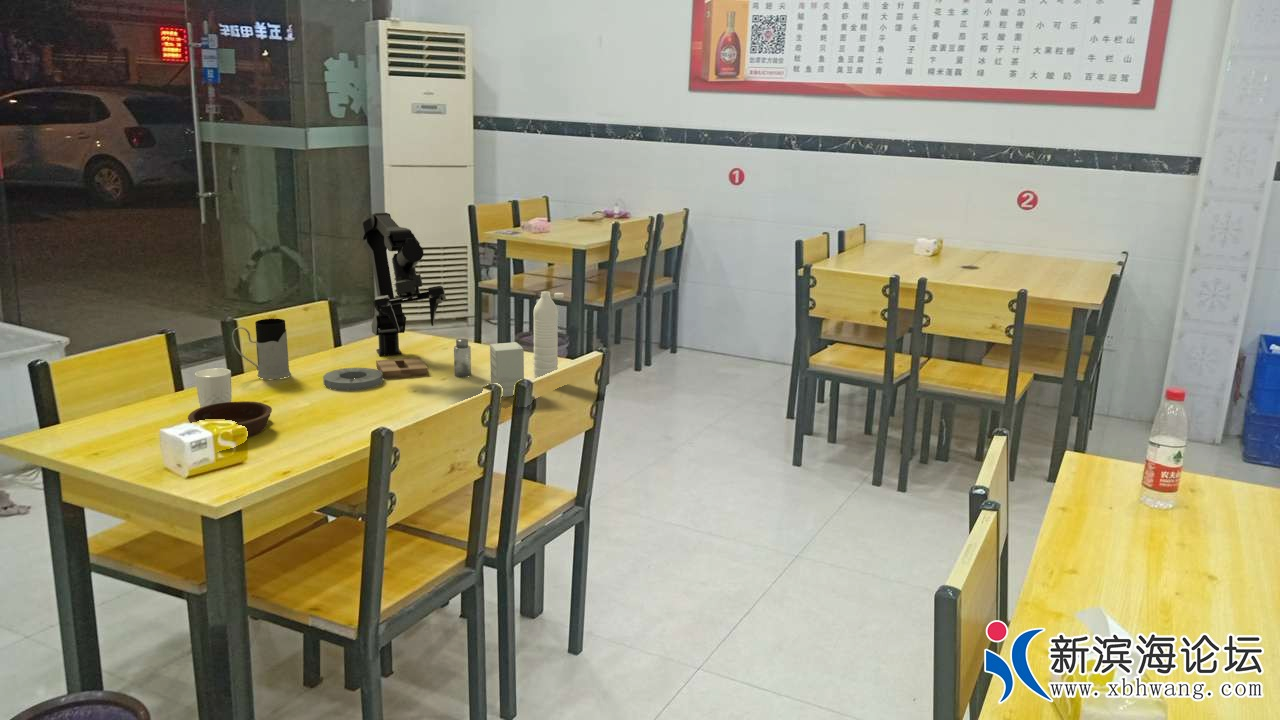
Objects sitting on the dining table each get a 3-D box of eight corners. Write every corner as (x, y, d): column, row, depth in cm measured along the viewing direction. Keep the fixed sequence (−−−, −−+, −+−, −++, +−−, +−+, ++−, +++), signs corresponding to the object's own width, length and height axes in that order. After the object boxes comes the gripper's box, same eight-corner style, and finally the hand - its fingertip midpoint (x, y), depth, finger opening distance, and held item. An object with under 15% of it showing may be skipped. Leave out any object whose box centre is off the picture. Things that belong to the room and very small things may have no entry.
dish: (164, 442, 224) (162, 421, 223) (234, 414, 244) (233, 394, 243) (228, 453, 218) (227, 431, 217) (295, 423, 238) (294, 403, 237)
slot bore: (376, 367, 286) (376, 360, 285) (419, 364, 290) (419, 357, 290) (383, 378, 275) (383, 371, 275) (427, 375, 280) (427, 368, 279)
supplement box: (517, 387, 270) (517, 341, 267) (524, 395, 263) (524, 348, 260) (490, 390, 267) (489, 343, 264) (496, 398, 261) (495, 350, 257)
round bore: (321, 377, 275) (320, 370, 274) (377, 372, 281) (377, 365, 280) (327, 392, 262) (326, 385, 261) (386, 387, 267) (386, 380, 267)
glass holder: (289, 379, 273) (286, 324, 269) (233, 381, 269) (228, 326, 265) (292, 370, 281) (288, 317, 277) (237, 373, 277) (233, 319, 274)
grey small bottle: (452, 373, 282) (452, 338, 279) (468, 372, 283) (468, 337, 281) (456, 378, 278) (455, 342, 275) (472, 376, 279) (472, 341, 277)
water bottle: (528, 383, 274) (528, 292, 268) (542, 378, 279) (542, 288, 273) (555, 388, 270) (555, 295, 263) (569, 383, 275) (569, 292, 269)
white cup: (217, 419, 239) (214, 378, 237) (191, 415, 242) (187, 374, 239) (241, 410, 246) (238, 370, 244) (215, 406, 249) (211, 366, 246)
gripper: (366, 272, 269) (376, 329, 266) (436, 259, 271) (447, 316, 269) (372, 282, 279) (382, 337, 277) (440, 270, 282) (450, 325, 279)
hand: (415, 329), depth 275 cm, fingers open, 9 cm apart
